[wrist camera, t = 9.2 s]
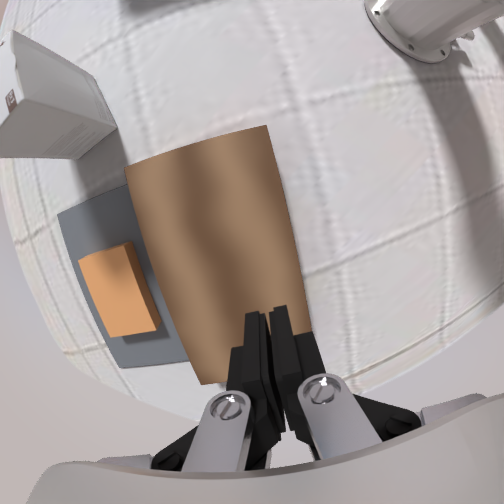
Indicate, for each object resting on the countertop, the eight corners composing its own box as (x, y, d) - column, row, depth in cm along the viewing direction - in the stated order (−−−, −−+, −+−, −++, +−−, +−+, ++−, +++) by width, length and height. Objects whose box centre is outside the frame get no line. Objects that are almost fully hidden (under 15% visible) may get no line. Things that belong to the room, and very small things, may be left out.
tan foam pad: (123, 245, 23) (131, 240, 25) (77, 260, 23) (87, 255, 25) (156, 330, 25) (161, 320, 27) (110, 337, 26) (117, 328, 28)
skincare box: (58, 107, 21) (-36, 84, 7) (96, 73, 21) (10, 24, 6) (80, 163, 23) (-28, 164, 9) (122, 129, 23) (20, 96, 8)
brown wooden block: (263, 133, 23) (266, 124, 19) (309, 340, 29) (316, 361, 25) (140, 169, 24) (123, 167, 20) (205, 362, 29) (201, 385, 25)
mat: (138, 180, 24) (137, 180, 24) (198, 356, 29) (198, 358, 29) (59, 213, 24) (57, 214, 24) (120, 366, 29) (119, 367, 29)
